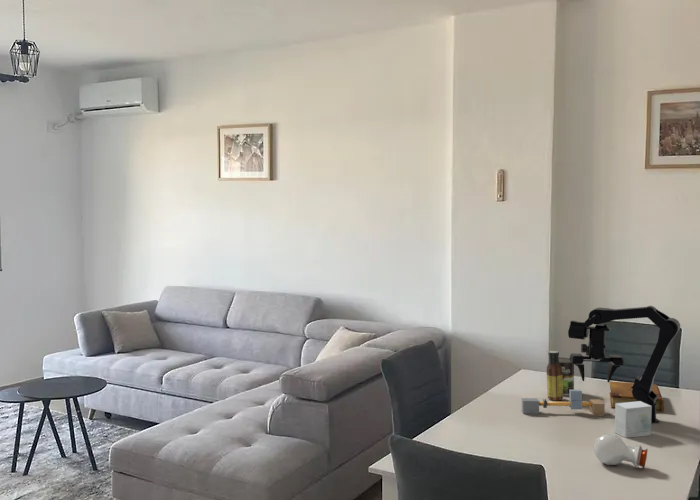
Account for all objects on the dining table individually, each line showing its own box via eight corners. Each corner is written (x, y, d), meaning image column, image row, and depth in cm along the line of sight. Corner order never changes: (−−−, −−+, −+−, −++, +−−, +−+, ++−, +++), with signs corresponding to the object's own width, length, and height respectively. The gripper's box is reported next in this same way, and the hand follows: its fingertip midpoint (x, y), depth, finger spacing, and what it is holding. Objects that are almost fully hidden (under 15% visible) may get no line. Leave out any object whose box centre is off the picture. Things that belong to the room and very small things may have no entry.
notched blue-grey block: (579, 406, 262) (579, 389, 261) (581, 409, 258) (581, 391, 258) (569, 406, 262) (569, 389, 262) (571, 409, 259) (571, 391, 258)
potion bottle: (591, 464, 212) (643, 478, 204) (589, 454, 204) (642, 469, 197) (597, 435, 215) (648, 448, 208) (595, 425, 208) (648, 438, 201)
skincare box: (626, 438, 230) (626, 408, 230) (614, 432, 237) (614, 403, 236) (652, 435, 233) (652, 405, 233) (639, 429, 239) (639, 400, 239)
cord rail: (600, 411, 262) (600, 397, 262) (604, 415, 256) (604, 402, 256) (521, 410, 265) (521, 397, 265) (523, 414, 259) (523, 401, 259)
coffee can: (574, 396, 283) (574, 363, 283) (549, 394, 286) (548, 361, 286) (574, 390, 293) (574, 357, 292) (549, 388, 296) (549, 356, 295)
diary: (663, 413, 259) (663, 398, 259) (611, 409, 266) (611, 395, 265) (657, 397, 281) (657, 383, 281) (609, 394, 287) (609, 380, 287)
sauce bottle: (561, 397, 282) (561, 350, 281) (564, 401, 276) (564, 353, 275) (545, 397, 283) (545, 350, 282) (548, 401, 277) (548, 353, 276)
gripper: (616, 337, 265) (615, 377, 266) (567, 336, 267) (566, 375, 268) (624, 343, 254) (623, 384, 255) (573, 342, 256) (572, 382, 257)
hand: (595, 381), depth 259 cm, fingers open, 9 cm apart
